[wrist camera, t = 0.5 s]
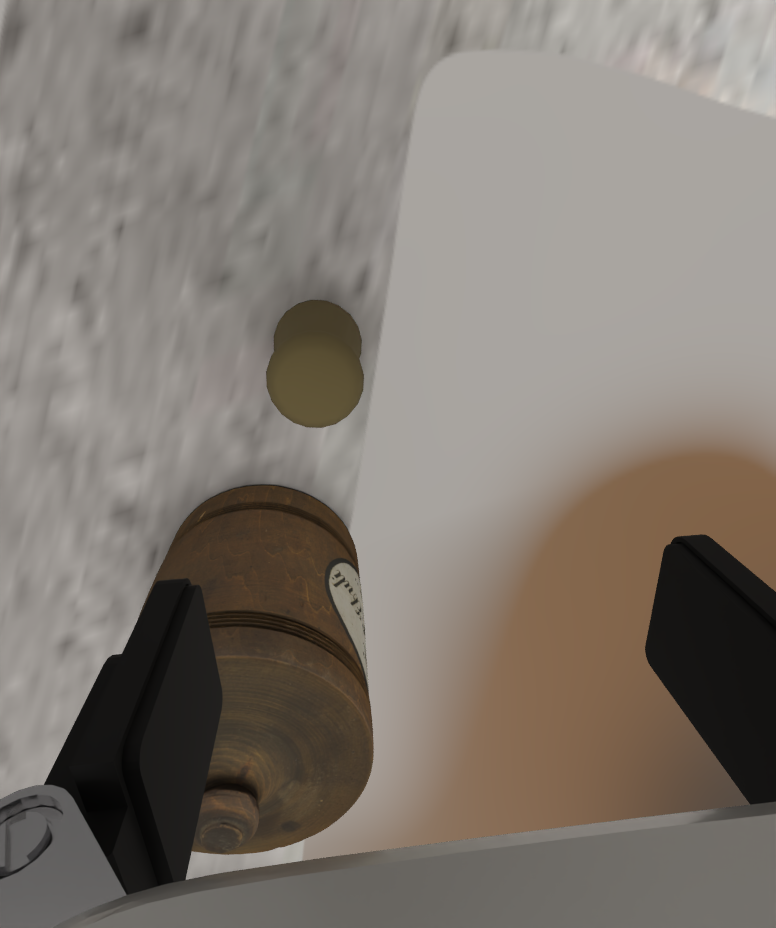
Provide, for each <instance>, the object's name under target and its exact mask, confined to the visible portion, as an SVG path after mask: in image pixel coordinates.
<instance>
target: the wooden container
mask: <svg viewBox="0 0 776 928" xmlns="http://www.w3.org/2000/svg"><path fill="white" fill-rule="evenodd" d="M183 578H188V579H189V580H190V582H191V584H192V585H200V587H201V589H202V593H203V598H204V603H205V608H206V613H207V618H208V623H209V627H210V632H211V637H212V642H213V647H214V652H215V657H216V662H217V667H218V672H219V677H220V682H221V687H222V695H223V702H222V710H221V715H220V720H219V725H218V729H217V734H216V739H215V743H214V748H213V753H212V757H211V762H210V767H209V771H208V776H207V781H206V785H205V790H204V795H203V799H202V804H201V809H200V813H199V818H198V823H197V828H196V832H195V837H194V842H193V846H192V851H194V852H202V853H210V854H227V855H229V854H246V853H257V852H264V851H269V850H273V849H275V848H278V847H285V846H288V845H291V844H294V843H296V842H300V841H302V840H304V839H306V838H308V837H310V836H313V835H315V834H317V833H319V832H321V831H322V830H324V829H326V828H327V827H329V826H330V825H331V824H333V823H334V822H335V821H337V820H338V819H339V818H340V817H342V816H343V815H344V814H345V813H346V812H347V811H348V810H349V809H350V808H351V807H352V806H353V804H354V803H355V802H356V801H357V799H358V798H359V797H360V795H361V794H362V792H363V790H364V788H365V786H366V784H367V782H368V779H369V776H370V773H371V769H372V763H373V728H372V716H371V706H370V701H369V692H368V691H369V690H368V675H367V674H368V673H367V659H366V644H365V625H364V613H363V602H362V594H361V584H360V579H359V578H360V577H359V568H358V559H357V553H356V549H355V545H354V542H353V540H352V538H351V535H350V533H349V531H348V530H347V528H346V526H345V525H344V523H343V522H342V521H341V520H340V519H339V517H338V516H337V515H336V514H335V513H334V512H333V511H332V510H331V509H329V508H328V507H327V506H326V505H324V504H323V503H321V502H320V501H318V500H316V499H314V498H313V497H311V496H309V495H306V494H304V493H301V492H299V491H296V490H293V489H288V488H285V487H280V486H272V485H259V486H258V485H256V486H246V487H241V488H236V489H232V490H230V491H227V492H224V493H221V494H219V495H217V496H215V497H213V498H211V499H209V500H207V501H206V502H204V503H203V504H201V505H200V506H199V507H197V508H196V509H195V510H194V511H193V512H192V513H191V514H190V515H189V516H188V517H187V519H186V520H185V521H184V523H183V524H182V525H181V527H180V528H179V530H178V532H177V534H176V536H175V538H174V540H173V542H172V544H171V546H170V549H169V551H168V553H167V555H166V557H165V559H164V561H163V563H162V565H161V567H160V569H159V571H158V573H157V575H156V578H155V580H154V582H153V584H152V587H151V589H150V591H149V594H148V596H147V598H146V601H145V603H144V605H143V608H144V606H145V604H146V602H147V600H148V598H149V595H150V593H151V591H152V589H153V587H154V585H155V583H156V582H157V581H159V580H171V579H183ZM143 608H142V610H143ZM142 610H141V612H142ZM140 615H141V613H140ZM139 617H140V616H139ZM138 619H139V618H138Z"/></svg>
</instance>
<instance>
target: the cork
mask: <svg viewBox="0 0 776 928" xmlns="http://www.w3.org/2000/svg"><path fill="white" fill-rule="evenodd" d="M361 343H362V340H361V336H360V332H359V329H358V326H357V324H356V323H355V321H354V320H353V318H352V317H351V315H350V314H349V313H347V312H346V311H345V310H344V309H342V308H341V307H340V306H338V305H336V304H333V303H331V302H328V301H323V300H310V301H306V302H302V303H299V304H297V305H295V306H294V307H292V308H291V309H290V310H288V311H287V312H286V313H285V314H284V316H283V317H282V318H281V320H280V321H279V322H278V325H277V328H276V331H275V334H274V353H273V355H272V356H271V359H270V362H269V365H268V368H267V371H266V376H267V389H268V392H269V394H270V397H271V400H272V402H273V403H274V405H275V406H276V407H277V409H278V410H279V411H280V413H281V414H282V415H284V416H285V417H286V418H288V419H289V420H291V421H292V422H293V423H296V424H299V425H302V426H305V427H315V428H323V427H326V426H330V425H333V424H336V423H338V422H339V421H341V420H342V419H344V418H345V417H347V416H348V415H349V414H350V413H351V411H352V410H353V409H354V408H355V406H356V405H357V404H358V402H359V399H360V397H361V394H362V392H363V381H364V374H363V371H362V367H361V364H360V360H359V358H360V355H361Z"/></svg>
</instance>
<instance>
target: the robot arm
mask: <svg viewBox="0 0 776 928" xmlns="http://www.w3.org/2000/svg"><path fill="white" fill-rule="evenodd" d="M645 652H646V657H647V660H648V663H649V664H650V666H651V667H652V669H653V670H654V672H655V673H656V674H657V676H658V677H659V679H660V680H661V681H662V683H663V684H664V686H665V687H666V688H667V690H668V691H669V692H670V694H671V695H672V696H673V698H674V699H675V701H676V702H677V704H678V705H679V706H680V708H681V709H682V711H683V712H684V713H685V715H686V716H687V717H688V719H689V720H690V721H691V723H692V724H693V726H694V727H695V729H696V730H697V731H698V733H699V734H700V735H701V737H702V738H703V740H704V741H705V742H706V744H707V745H708V747H709V748H710V749H711V751H712V752H713V754H714V755H715V756H716V758H717V759H718V760H719V762H720V763H721V765H722V766H723V767H724V769H725V770H726V771H727V773H728V774H729V776H730V777H731V778H732V780H733V781H734V783H735V784H736V785H737V787H738V788H739V790H740V791H741V792H742V794H743V795H744V796H745V798H746V799H747V801H748V802H749V803H750V805H744V806H735V807H727V808H718V809H711V810H701V811H693V812H685V813H676V814H668V815H659V816H651V817H643V818H634V819H626V820H618V821H610V822H602V823H593V824H586V825H578V826H569V827H561V828H553V829H546V830H537V831H529V832H521V833H513V834H505V835H498V836H490V837H481V838H473V839H465V840H458V841H450V842H443V843H435V844H427V845H419V846H412V847H404V848H397V849H389V850H382V851H373V852H366V853H358V854H350V855H343V856H335V857H327V858H320V859H313V860H306V861H299V862H293V863H286V864H279V865H272V866H266V867H259V868H252V869H245V870H239V871H232V872H225V873H219V874H214V875H209V876H204V877H199V878H194V879H189V880H185V879H186V874H187V870H188V865H189V860H190V856H191V851H192V846H193V842H194V837H195V832H196V828H197V823H198V818H199V813H200V809H201V804H202V799H203V795H204V790H205V785H206V781H207V776H208V771H209V767H210V762H211V757H212V753H213V748H214V743H215V739H216V734H217V729H218V725H219V720H220V715H221V710H222V702H223V695H222V687H221V682H220V677H219V672H218V667H217V662H216V657H215V652H214V647H213V642H212V637H211V632H210V627H209V623H208V618H207V613H206V608H205V603H204V598H203V593H202V589H201V587H200V585H192V584H191V582H190V580H189V579H188V578H183V579H171V580H159V581H157V582H156V583H155V585H154V587H153V589H152V591H151V593H150V595H149V598H148V600H147V602H146V604H145V606H144V608H143V610H142V612H141V615H140V617H139V619H138V621H137V623H136V625H135V627H134V630H133V632H132V634H131V636H130V638H129V640H128V642H127V644H126V647H125V649H124V651H123V653H122V654H118V655H112V656H111V657H109V658H108V659H107V661H106V662H105V664H104V665H103V667H102V669H101V671H100V673H99V675H98V677H97V679H96V681H95V683H94V685H93V687H92V689H91V691H90V693H89V695H88V697H87V699H86V701H85V703H84V705H83V707H82V709H81V711H80V713H79V715H78V717H77V719H76V721H75V723H74V725H73V727H72V729H71V731H70V733H69V735H68V737H67V739H66V741H65V743H64V745H63V747H62V749H61V751H60V753H59V755H58V757H57V759H56V761H55V763H54V765H53V767H52V769H51V771H50V773H49V775H48V777H47V779H46V781H45V783H44V785H35V786H32V787H28V788H25V789H21V790H18V791H16V792H14V793H12V794H10V795H8V796H6V797H4V798H2V799H0V928H776V592H775V591H774V590H773V589H771V588H770V587H769V586H768V585H767V584H765V583H764V582H763V581H762V580H761V579H759V578H758V577H757V576H756V575H755V574H753V573H752V572H751V571H750V570H749V569H748V568H746V567H745V566H744V565H743V564H742V563H740V562H739V561H738V560H737V559H736V558H734V557H733V556H732V555H731V554H730V553H728V552H727V551H726V550H725V549H724V548H722V547H721V546H720V545H719V544H717V543H716V542H715V541H714V540H713V539H712V538H710V537H709V536H707V535H691V536H680V537H676V538H674V539H673V540H672V542H671V544H669V545H667V546H666V547H665V549H664V552H663V557H662V562H661V568H660V573H659V579H658V583H657V588H656V594H655V599H654V604H653V609H652V615H651V620H650V625H649V630H648V635H647V640H646V646H645Z"/></svg>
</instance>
